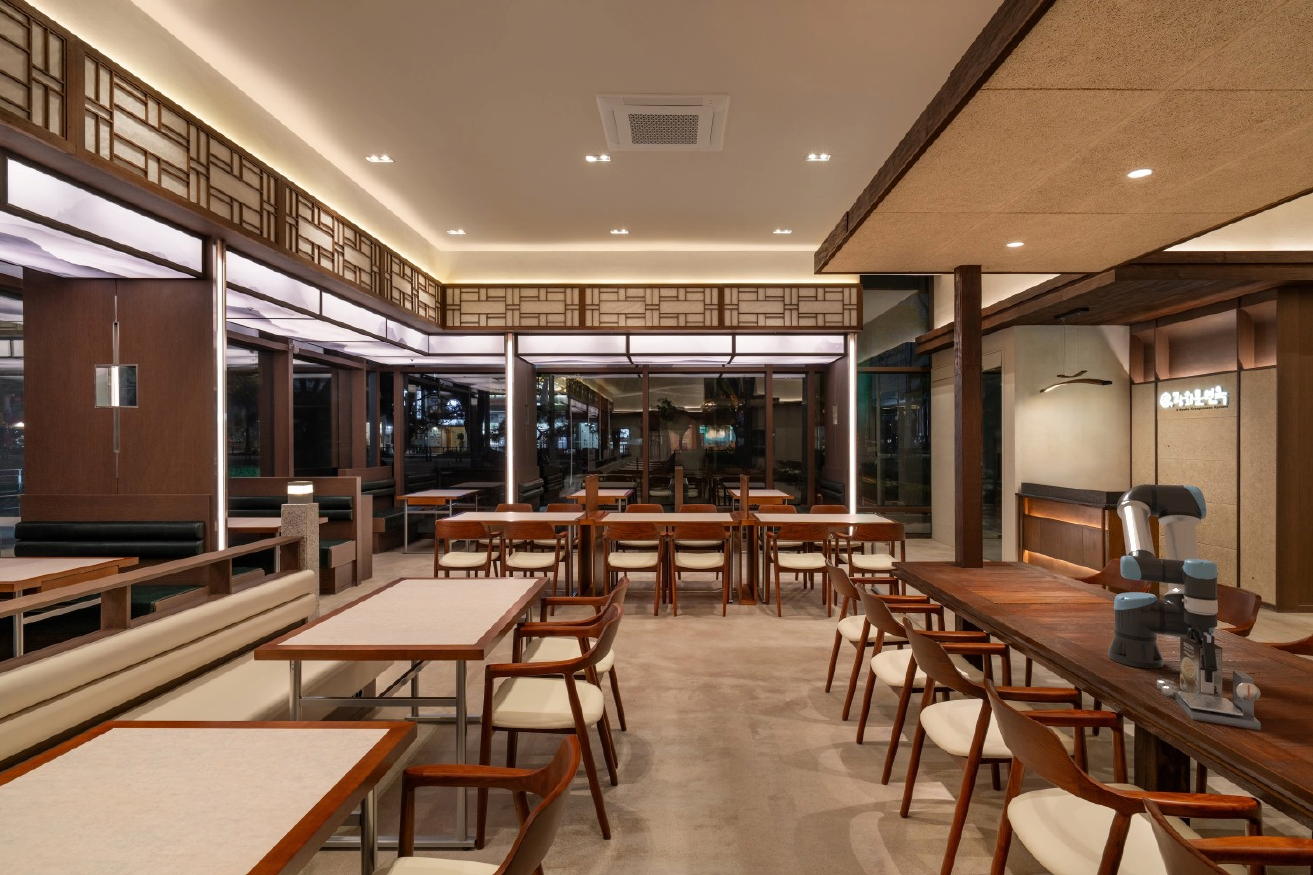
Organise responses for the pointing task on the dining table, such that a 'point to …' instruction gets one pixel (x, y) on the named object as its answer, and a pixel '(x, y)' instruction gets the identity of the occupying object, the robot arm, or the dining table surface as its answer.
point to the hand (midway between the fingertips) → (1200, 685)
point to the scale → (1225, 704)
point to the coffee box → (1197, 667)
